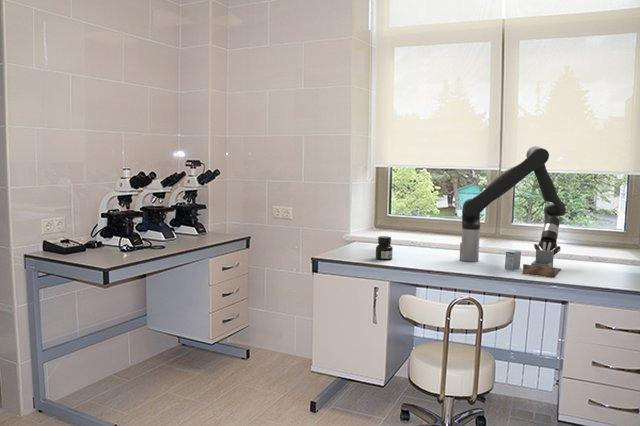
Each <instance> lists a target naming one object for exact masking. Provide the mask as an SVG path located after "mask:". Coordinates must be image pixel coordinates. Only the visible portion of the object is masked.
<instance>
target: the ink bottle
mask: <svg viewBox="0 0 640 426" xmlns="http://www.w3.org/2000/svg"><path fill="white" fill-rule="evenodd" d="M391 243H392V237H391V236H388V235H387V236H385V235H380V236H378V237H377V245H376V247H375V259H376V260H379V261H391V260H392V259H393V251H394V250H393V249H394V248H393V246H392V245H391Z"/></svg>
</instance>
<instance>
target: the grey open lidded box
mask: <svg viewBox="0 0 640 426" xmlns="http://www.w3.org/2000/svg"><path fill="white" fill-rule="evenodd" d="M554 256H555V255H554V251H544V250H542V249H540V250H536V249H535V260H534V261H533V262H531V264H530V265H536V266H544V267H553V268H554Z"/></svg>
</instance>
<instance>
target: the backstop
mask: <svg viewBox="0 0 640 426" xmlns="http://www.w3.org/2000/svg"><path fill="white" fill-rule="evenodd" d="M560 271H562V268H556V267H554V266H553V267H544V266H536V265H531V264H525V263H523V265H522V275H527V274H529V275H528V276H535V275H538V277H544V276H545V277H546V278H554V279H555V277H556V276H557V275H558V274H559V273H560Z"/></svg>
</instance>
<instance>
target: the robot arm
mask: <svg viewBox="0 0 640 426" xmlns="http://www.w3.org/2000/svg"><path fill="white" fill-rule="evenodd" d="M549 158H550V153H549V151H548V149H546V148H544V147H540V146H537V145H536V146H531V147H530V148H529V149H527V151H526V158H525V159H524V160H523V161H522V162H520V163H518V164H516V165H515V166H512V167H510V168H508V169H506V170H505V171H502V172H501V173H500V174H499V175H498V176H496V177H495V178H494V179H493V180H491V182H490V183H489V184H488V185H487V186H486V187H485V189H484V190H483V191H481V192H480V193H479V194H477V195H475V196H474V197H473V198H468V199H466V200H465V201H464V202H463V204H462V211H461V212H462V213H461V242H459V243H460V245H459V261H462V262H469V263H472V262H473V263H476V262H479V255H480V254H479V253H480V237H481V235H480V234H481V219H480V218H481V213H482V212H483V211H484V209H486V208H487V207H488V206H489V205H490V204H492V202H494V201H495V200H497V199H499V198H501V197H502V196H503V195H505V194H506V193H508V192H509V191H510V190H511V189H513V188H514V187H515V186H516V185H517V184H519V183H520V182H521V181H522V180H524V179H525V178H526V177H527V176H528V175H530V174H531V173H534V175H535V177H536V180H537V183H538V187H539V190H540V192H541V195H542V199H543V200H544V202H546V203H550V204H547V205H545V206H544V208H543V214H544V223H543V224H544V225H543V227H542V230H541V231H542V232H541V236H540V241H539V242H538V243H534V244H533V247H534V249H535V251H536V250H544V251H554V256H555V255H556V254H558V253H559V252H561V246H560V245H558V244H557V241H558V237H559V228H560V224H561V223H560V219H559V217H562V216H565V214H566V211H567V209H566V206H565V204H564V203H563V202H562V200H561V199H560V196H559V195H558V193H557V189H556V187H555V186H556V185H555V184H554V182H553V180H552V178H551V176H550V175H549V174H550V173H549V172H548V170H547V167H546V163H547V162H548V160H549ZM551 203H552V204H551Z"/></svg>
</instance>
